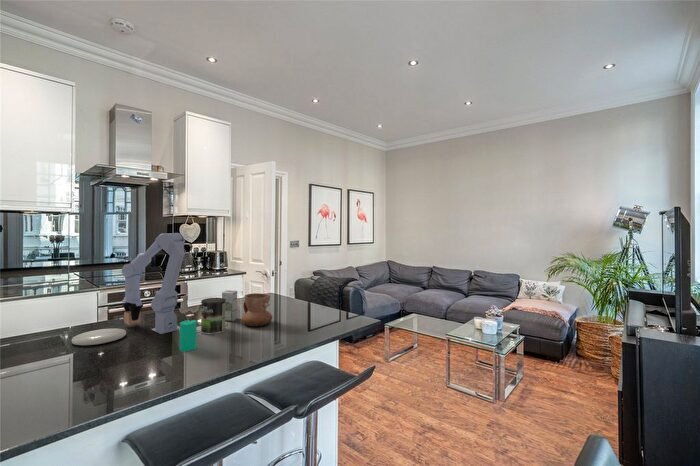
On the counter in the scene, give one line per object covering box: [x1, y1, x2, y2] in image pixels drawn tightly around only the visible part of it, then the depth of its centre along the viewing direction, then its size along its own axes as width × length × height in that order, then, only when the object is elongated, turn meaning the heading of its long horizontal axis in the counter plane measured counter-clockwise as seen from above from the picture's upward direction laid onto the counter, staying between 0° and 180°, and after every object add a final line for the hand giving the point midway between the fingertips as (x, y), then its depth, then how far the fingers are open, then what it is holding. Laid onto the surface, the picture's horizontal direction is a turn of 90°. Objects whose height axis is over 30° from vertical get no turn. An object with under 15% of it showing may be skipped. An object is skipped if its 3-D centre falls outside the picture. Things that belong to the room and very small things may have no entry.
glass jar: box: [200, 297, 226, 335], centre depth 150 cm, size 10×10×14 cm
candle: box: [179, 319, 198, 352], centre depth 129 cm, size 6×6×12 cm
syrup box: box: [221, 289, 238, 322], centre depth 168 cm, size 6×6×14 cm
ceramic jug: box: [241, 292, 273, 327], centre depth 162 cm, size 18×14×14 cm
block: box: [123, 311, 142, 326], centre depth 154 cm, size 5×5×5 cm
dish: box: [71, 328, 127, 346], centre depth 138 cm, size 18×18×2 cm
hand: (132, 318), depth 154 cm, fingers closed on block, 5 cm apart
